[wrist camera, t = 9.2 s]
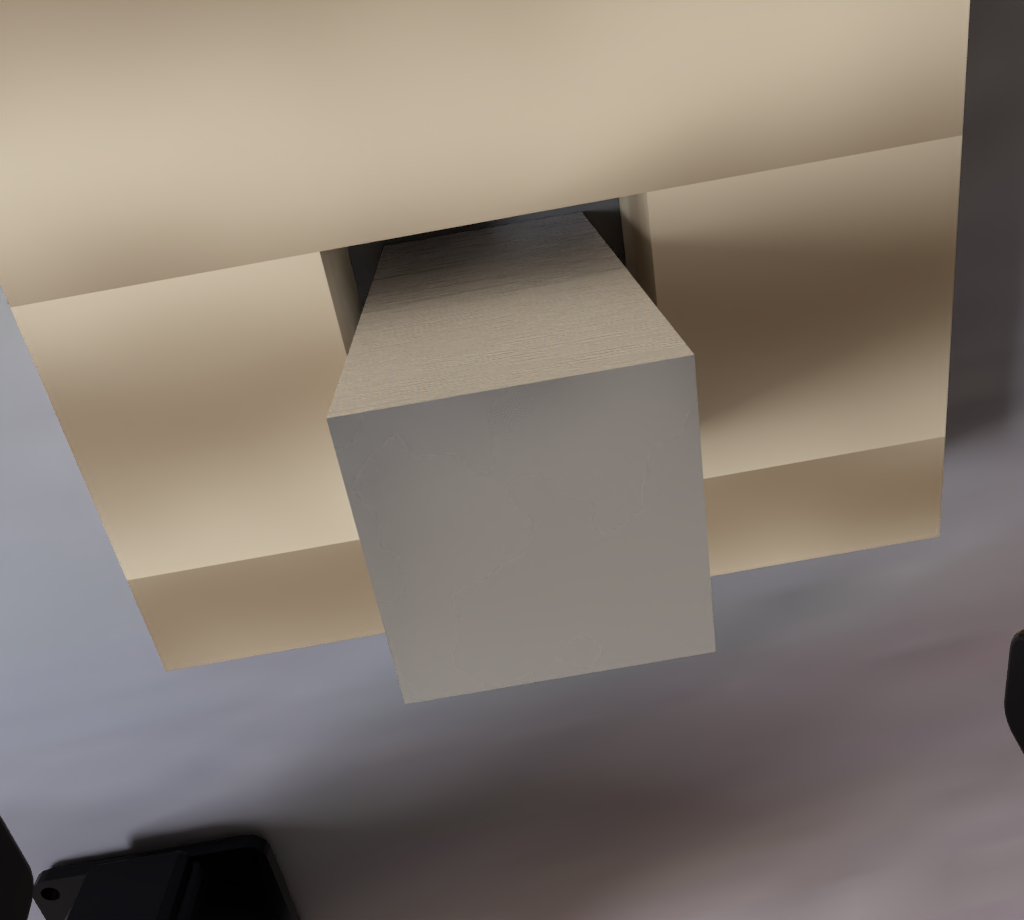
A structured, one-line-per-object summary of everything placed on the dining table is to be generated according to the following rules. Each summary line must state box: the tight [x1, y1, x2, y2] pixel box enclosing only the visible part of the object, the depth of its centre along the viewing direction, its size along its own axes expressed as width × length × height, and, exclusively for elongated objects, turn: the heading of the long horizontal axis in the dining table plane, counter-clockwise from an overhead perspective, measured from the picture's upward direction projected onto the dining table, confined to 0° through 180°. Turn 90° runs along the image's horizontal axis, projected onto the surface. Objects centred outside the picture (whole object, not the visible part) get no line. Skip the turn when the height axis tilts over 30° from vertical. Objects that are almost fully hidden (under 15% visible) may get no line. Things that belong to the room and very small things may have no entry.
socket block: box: [0, 0, 970, 671], centre depth 11 cm, size 20×18×12 cm
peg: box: [326, 212, 716, 704], centre depth 14 cm, size 4×4×9 cm
